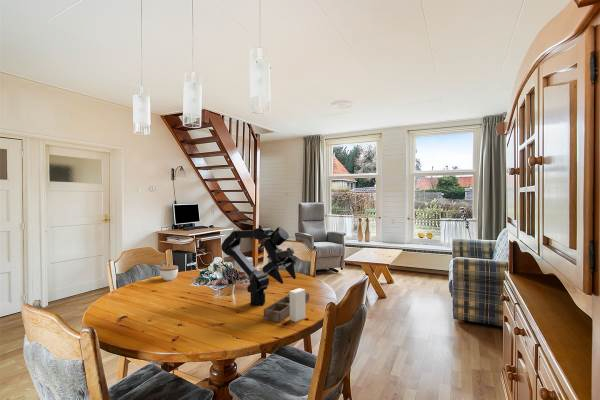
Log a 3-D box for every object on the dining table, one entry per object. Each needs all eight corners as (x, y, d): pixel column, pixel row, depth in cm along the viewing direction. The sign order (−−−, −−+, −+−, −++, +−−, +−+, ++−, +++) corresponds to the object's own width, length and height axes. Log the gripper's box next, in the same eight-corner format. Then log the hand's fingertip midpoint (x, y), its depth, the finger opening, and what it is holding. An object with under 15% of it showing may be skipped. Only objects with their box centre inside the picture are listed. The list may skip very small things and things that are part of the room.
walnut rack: (263, 318, 128) (263, 309, 128) (294, 298, 153) (294, 290, 153) (280, 322, 124) (280, 312, 124) (309, 300, 150) (309, 292, 150)
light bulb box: (246, 272, 207) (246, 256, 207) (253, 273, 203) (253, 257, 203) (234, 275, 199) (234, 258, 199) (240, 277, 194) (240, 260, 194)
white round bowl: (172, 282, 183) (172, 266, 183) (156, 281, 185) (155, 266, 185) (181, 277, 194) (181, 262, 194) (166, 276, 195) (166, 262, 195)
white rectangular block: (289, 319, 127) (289, 291, 127) (299, 315, 131) (299, 288, 131) (295, 322, 125) (295, 293, 124) (305, 317, 129) (305, 289, 129)
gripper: (270, 244, 129) (287, 277, 123) (296, 239, 144) (312, 268, 139) (255, 257, 134) (271, 289, 129) (281, 251, 149) (296, 279, 144)
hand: (288, 281), depth 135 cm, fingers open, 9 cm apart
